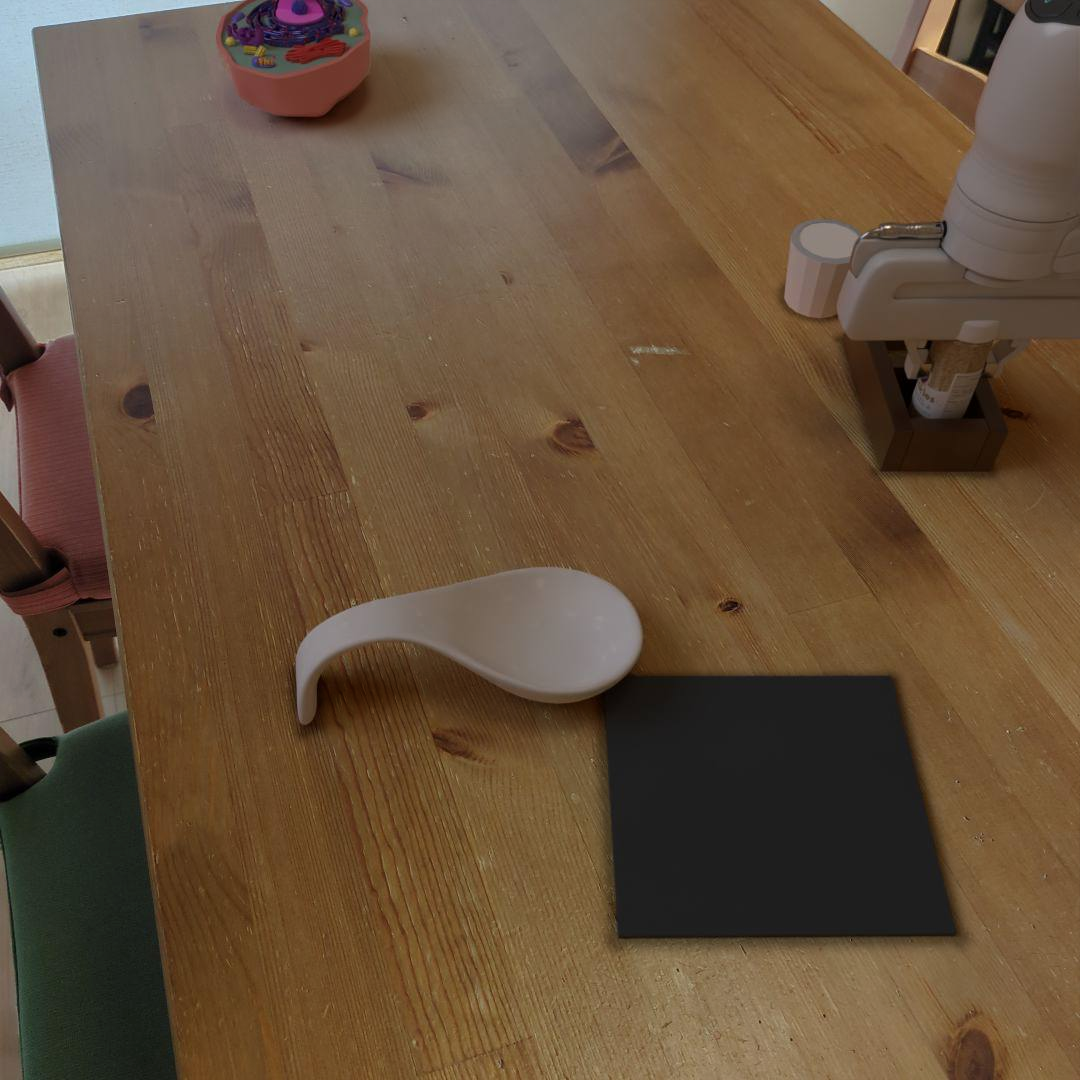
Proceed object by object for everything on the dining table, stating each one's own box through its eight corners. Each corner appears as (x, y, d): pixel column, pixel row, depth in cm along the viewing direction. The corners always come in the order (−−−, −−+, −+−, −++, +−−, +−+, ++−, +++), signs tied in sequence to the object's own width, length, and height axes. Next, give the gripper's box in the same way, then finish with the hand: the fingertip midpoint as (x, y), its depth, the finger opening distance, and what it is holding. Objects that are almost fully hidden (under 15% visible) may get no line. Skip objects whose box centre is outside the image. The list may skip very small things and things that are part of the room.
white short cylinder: (842, 280, 107) (859, 217, 102) (857, 326, 102) (876, 262, 97) (771, 280, 107) (784, 217, 101) (783, 326, 102) (798, 263, 97)
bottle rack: (939, 343, 101) (956, 298, 97) (988, 475, 91) (1009, 431, 87) (840, 342, 101) (853, 298, 97) (879, 475, 90) (895, 431, 87)
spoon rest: (617, 590, 82) (620, 518, 78) (661, 714, 74) (668, 642, 69) (295, 642, 79) (277, 571, 74) (303, 778, 71) (283, 708, 66)
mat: (888, 681, 78) (891, 675, 77) (953, 938, 66) (957, 933, 65) (602, 682, 77) (603, 675, 77) (617, 941, 66) (618, 936, 65)
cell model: (199, 136, 121) (175, 33, 113) (267, 50, 134) (250, -49, 125) (347, 157, 119) (334, 53, 110) (402, 68, 132) (394, -31, 123)
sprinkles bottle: (890, 420, 94) (934, 290, 84) (939, 410, 95) (988, 281, 84) (915, 457, 91) (964, 328, 81) (965, 447, 92) (1020, 318, 82)
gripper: (869, 250, 75) (827, 402, 86) (1169, 248, 75) (1090, 399, 86) (850, 197, 79) (812, 348, 90) (1135, 196, 79) (1064, 346, 90)
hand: (950, 373), depth 88 cm, fingers closed on sprinkles bottle, 4 cm apart
